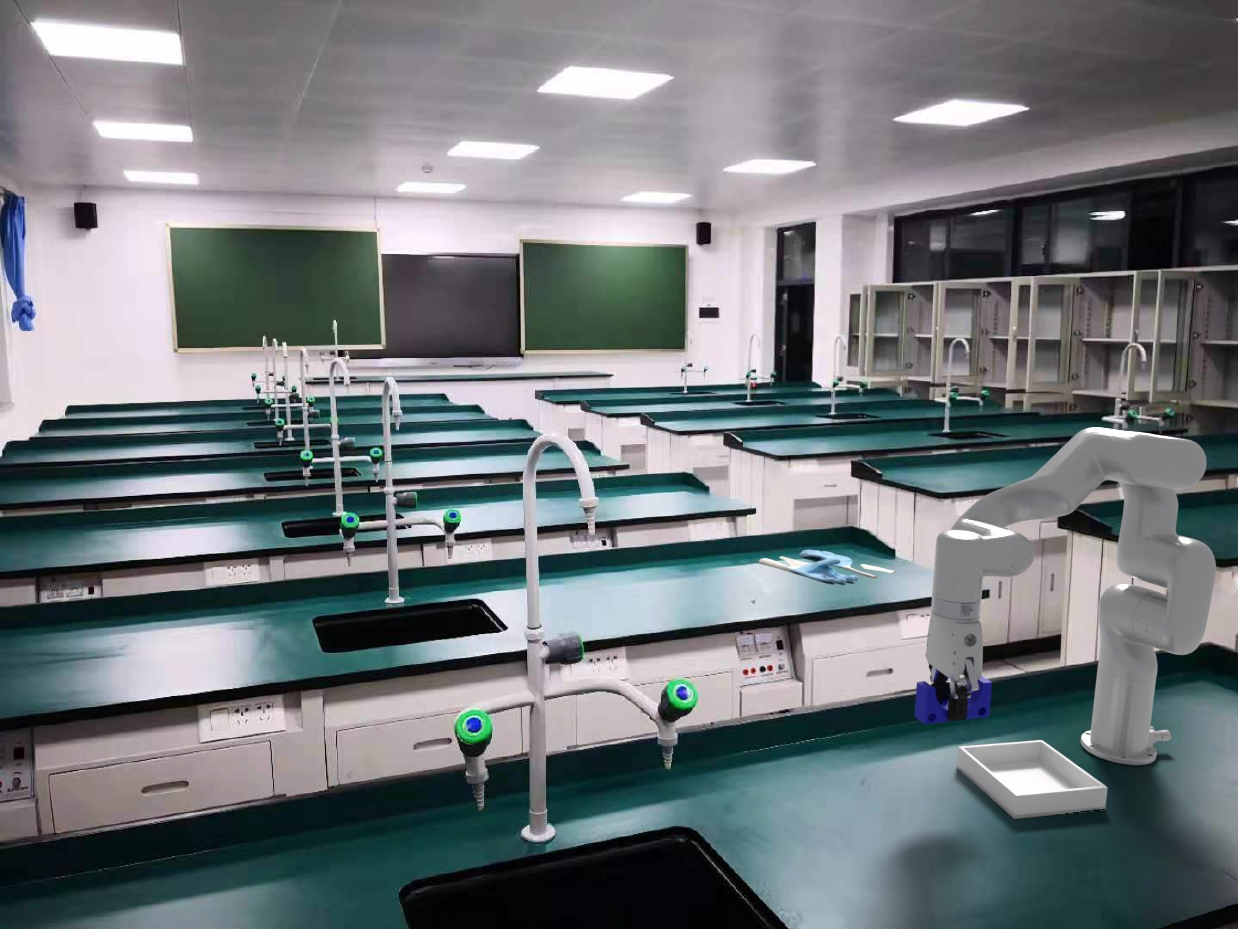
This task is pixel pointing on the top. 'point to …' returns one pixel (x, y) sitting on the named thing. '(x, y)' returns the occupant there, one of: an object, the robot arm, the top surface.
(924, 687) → the cable clip
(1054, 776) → the tray
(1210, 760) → the top surface
